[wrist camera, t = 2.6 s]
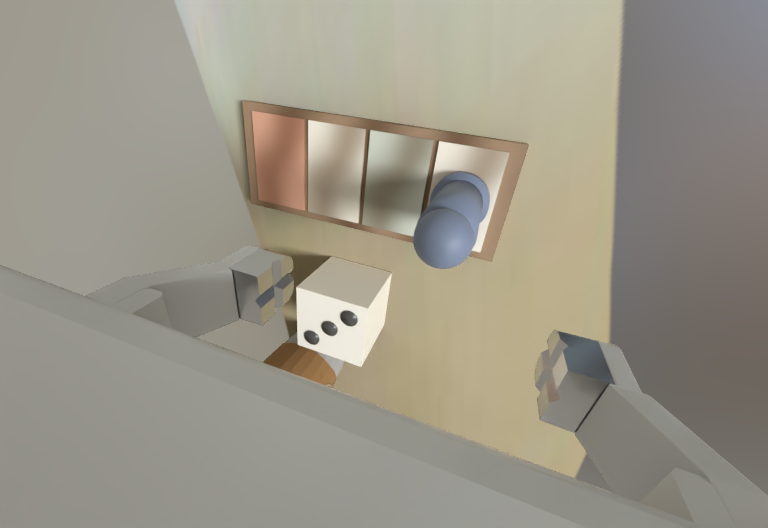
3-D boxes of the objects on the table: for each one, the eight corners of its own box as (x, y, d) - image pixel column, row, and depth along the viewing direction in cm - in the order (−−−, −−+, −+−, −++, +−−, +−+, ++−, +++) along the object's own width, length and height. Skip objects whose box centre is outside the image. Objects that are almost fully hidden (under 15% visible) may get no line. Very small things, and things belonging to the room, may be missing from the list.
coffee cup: (344, 386, 37) (261, 532, 24) (283, 353, 38) (174, 476, 25) (364, 339, 33) (277, 485, 20) (295, 303, 34) (171, 421, 21)
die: (391, 272, 28) (367, 309, 23) (384, 324, 31) (360, 367, 26) (331, 256, 30) (295, 287, 24) (329, 307, 32) (296, 345, 27)
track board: (527, 143, 21) (529, 145, 20) (492, 256, 25) (491, 262, 24) (250, 100, 26) (240, 100, 24) (258, 200, 30) (249, 203, 28)
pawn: (498, 215, 22) (496, 275, 14) (445, 234, 24) (417, 297, 16) (477, 161, 21) (462, 193, 13) (423, 185, 23) (382, 227, 15)
